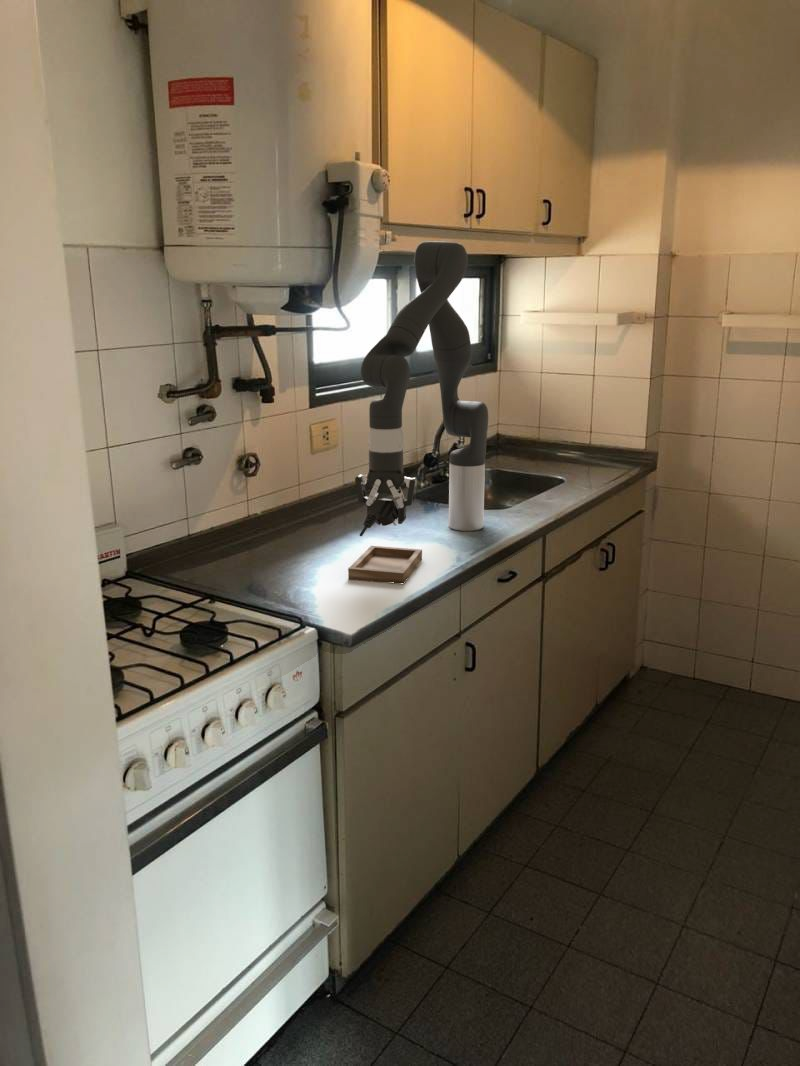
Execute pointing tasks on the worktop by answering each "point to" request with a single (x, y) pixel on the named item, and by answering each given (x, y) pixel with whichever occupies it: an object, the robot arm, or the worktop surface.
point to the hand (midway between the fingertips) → (386, 521)
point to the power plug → (381, 514)
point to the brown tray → (385, 564)
